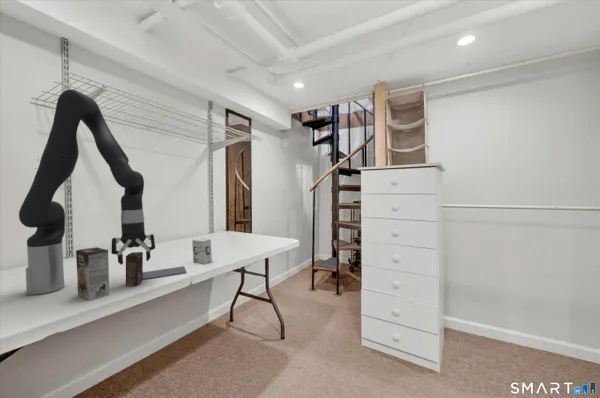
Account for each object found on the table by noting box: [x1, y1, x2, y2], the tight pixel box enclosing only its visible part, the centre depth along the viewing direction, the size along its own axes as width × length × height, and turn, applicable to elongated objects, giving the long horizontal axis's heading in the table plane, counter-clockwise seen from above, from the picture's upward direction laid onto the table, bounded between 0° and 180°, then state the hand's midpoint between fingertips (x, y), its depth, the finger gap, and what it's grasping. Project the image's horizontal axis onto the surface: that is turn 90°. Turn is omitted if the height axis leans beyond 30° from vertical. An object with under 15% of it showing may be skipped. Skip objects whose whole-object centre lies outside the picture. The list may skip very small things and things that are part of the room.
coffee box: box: [75, 247, 110, 301], centre depth 89 cm, size 9×6×16 cm
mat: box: [143, 265, 187, 281], centre depth 112 cm, size 17×10×1 cm, turn 120°
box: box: [125, 251, 144, 288], centre depth 100 cm, size 6×4×12 cm
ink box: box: [191, 237, 213, 265], centre depth 129 cm, size 9×5×12 cm, turn 62°
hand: (135, 262), depth 99 cm, fingers open, 8 cm apart
